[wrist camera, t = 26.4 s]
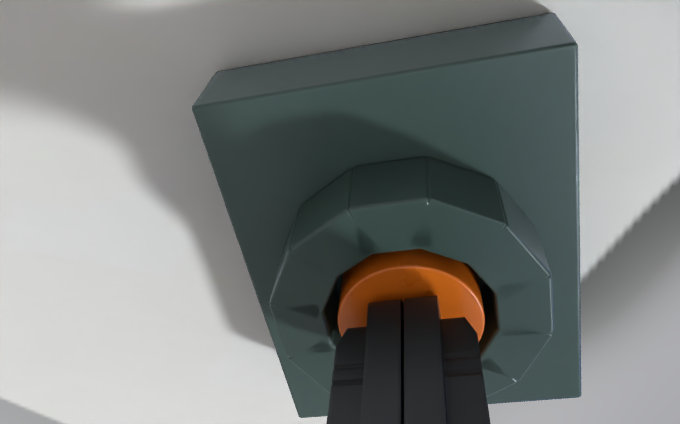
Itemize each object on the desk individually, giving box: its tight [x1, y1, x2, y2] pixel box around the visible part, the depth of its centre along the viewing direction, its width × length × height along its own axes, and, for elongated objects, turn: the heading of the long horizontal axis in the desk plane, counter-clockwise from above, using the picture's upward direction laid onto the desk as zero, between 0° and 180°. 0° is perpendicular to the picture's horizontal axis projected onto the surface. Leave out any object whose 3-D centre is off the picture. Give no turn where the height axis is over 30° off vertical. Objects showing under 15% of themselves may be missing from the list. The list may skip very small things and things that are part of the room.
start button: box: [338, 249, 485, 342], centre depth 15 cm, size 3×3×2 cm
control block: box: [192, 13, 581, 418], centre depth 16 cm, size 10×8×4 cm
